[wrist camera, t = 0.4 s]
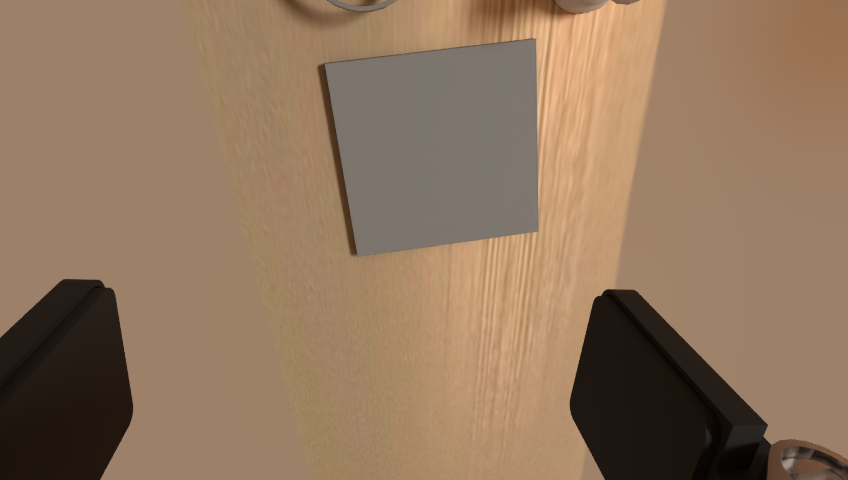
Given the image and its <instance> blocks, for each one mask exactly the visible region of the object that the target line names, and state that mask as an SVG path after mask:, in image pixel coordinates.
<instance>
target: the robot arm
mask: <svg viewBox="0 0 848 480" xmlns="http://www.w3.org/2000/svg"><path fill="white" fill-rule="evenodd" d="M570 411H571V415H572V418H573V420H574V422H575V424H576V425H577V427H578V429H579V431H580V433H581V435H582V437H583V439H584V441H585V443H586V445H587V446H588V448H589V450H590V452H591V454H592V456H593V458H594V460H595V462H596V463H597V465H598V467H599V469H600V471H601V473H602V475H603V477H604V479H605V480H848V459H846V458H844V457H843V456H841V455H840V454H837V453H836V452H833V451H831V450H829V449H827V448H825V447H823V446H819V445H817V444H814V443H810V442H807V441H801V440H795V439H787V440H780V441H778V442H776V443H774V444H772V445H771V444H770V443H769V442H768V441H767V440H766V439H765V438H764V437H763V435H764V433H765V431H766V428H767V426H768V425H767V424H766V423H765V422H764V421H763V420H762V418H761V417H759V415H758V414H757V413H756V412H755V411H754V410H753V409H752V408H751V407H750V406H749V405H747V403H746V402H745V401H744V400H743V399H742V398H741V397H740V396H739V395H738V394H737V393H736V392H735V391H734V390H733V389H732V388H731V387H730V386H729V385H728V384H727V383H726V382H725V381H724V380H723V379H722V378H721V377H720V376H719V375H718V374H717V373H716V372H715V371H714V370H713V369H712V368H711V367H710V366H709V365H708V364H707V363H706V361H704V360H703V359H702V357H701V356H700V355H698V353H697V352H696V351H695V350H694V349H693V348H692V347H691V346H690V345H689V344H688V343H687V342H686V341H685V340H684V339H683V338H682V337H681V336H680V335H679V334H678V333H677V332H676V331H675V330H674V329H673V328H672V327H671V326H670V325H669V324H668V323H667V322H666V321H665V320H664V319H663V318H662V317H661V316H660V315H659V314H658V313H657V312H656V311H655V310H654V309H653V308H652V307H651V306H650V305H649V303H647V301H646V300H645V299H643V297H642V296H641V295H639V293H638V292H636V291H635V290H615V289H607V290H605V291H604V292H603V294H602V295H601V296H597V297H596V298H595V299H594V302H593V305H592V310H591V314H590V318H589V322H588V326H587V331H586V335H585V339H584V343H583V347H582V352H581V356H580V360H579V364H578V368H577V372H576V377H575V381H574V385H573V389H572V393H571V398H570ZM132 414H133V402H132V396H131V389H130V383H129V377H128V371H127V365H126V358H125V352H124V347H123V340H122V334H121V328H120V322H119V315H118V310H117V303H116V297H115V293H114V291H113V289H111V288H105V286H104V284H103V283H102V281H100V280H79V279H64V280H62V281H60V282H59V283H58V284H57V285H56V286H55V287H54V288H53V289H52V290H51V291H50V292H49V293H48V294H47V295H46V296H44V297H43V298H42V299H41V300H40V301H39V302H38V303H37V304H36V305H35V306H34V307H33V308H32V309H30V310H29V311H28V312H27V313H26V314H25V315H24V316H23V317H22V318H21V319H20V320H19V321H18V322H17V323H15V325H13V326H12V327H11V328H10V329H9V330H8V331H7V332H6V333H5V334H4V335H3V336H2V337H1V338H0V480H100V479H101V477H102V475H103V473H104V471H105V469H106V468H107V466H108V464H109V462H110V460H111V458H112V456H113V455H114V453H115V451H116V449H117V447H118V445H119V443H120V442H121V440H122V438H123V436H124V434H125V432H126V430H127V428H128V427H129V425H130V422H131V419H132Z"/></svg>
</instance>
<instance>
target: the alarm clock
mask: <svg viewBox="0 0 848 480" xmlns="http://www.w3.org/2000/svg"><path fill="white" fill-rule="evenodd" d="M327 1H329V2H330V3H332V4H333V5H335V6H337V7H340V8H343V9H345V10H349V11H354V12H372V11H376V10H379V9H383V8H385V7H387V6H389V5H390V4H392V3H394V2H395V1H396V0H387V1H386V2H383V3H379V4H376V5H372V6H354V5H348V4H345V3H343V2H340V1H337V0H327Z"/></svg>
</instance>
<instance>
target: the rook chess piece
mask: <svg viewBox="0 0 848 480" xmlns="http://www.w3.org/2000/svg"><path fill="white" fill-rule="evenodd" d="M555 1H556V3H557V5H558V6H560V7H561V8H563V9H564V10H566V11H567V12H570V13H580V14H582V13H588V12H591V11H594V10H596V9H599V8H601V7H602V6H603V5H604V4H605V3H607V2H608V1H609V0H555ZM612 1H613V2H615V3H617V4H626V5H628V4H631V3H634V2H637V1H639V0H612Z"/></svg>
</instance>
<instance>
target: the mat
mask: <svg viewBox="0 0 848 480" xmlns="http://www.w3.org/2000/svg"><path fill="white" fill-rule="evenodd" d="M325 69H326V75H327V80H328V86H329V92H330V98H331V104H332V110H333V115H334V121H335V127H336V133H337V139H338V145H339V150H340V156H341V162H342V168H343V174H344V180H345V186H346V191H347V197H348V203H349V209H350V215H351V221H352V226H353V232H354V238H355V244H356V250H357V256H358V257H361V256H368V255H375V254H382V253H389V252H396V251H403V250H410V249H418V248H425V247H432V246H439V245H446V244H453V243H460V242H467V241H474V240H481V239H488V238H495V237H502V236H509V235H516V234H523V233H530V232H538V155H537V73H536V39H525V40H516V41H508V42H500V43H491V44H483V45H474V46H466V47H457V48H449V49H440V50H432V51H423V52H415V53H407V54H398V55H390V56H381V57H373V58H364V59H356V60H347V61H339V62H330V63H325Z"/></svg>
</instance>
